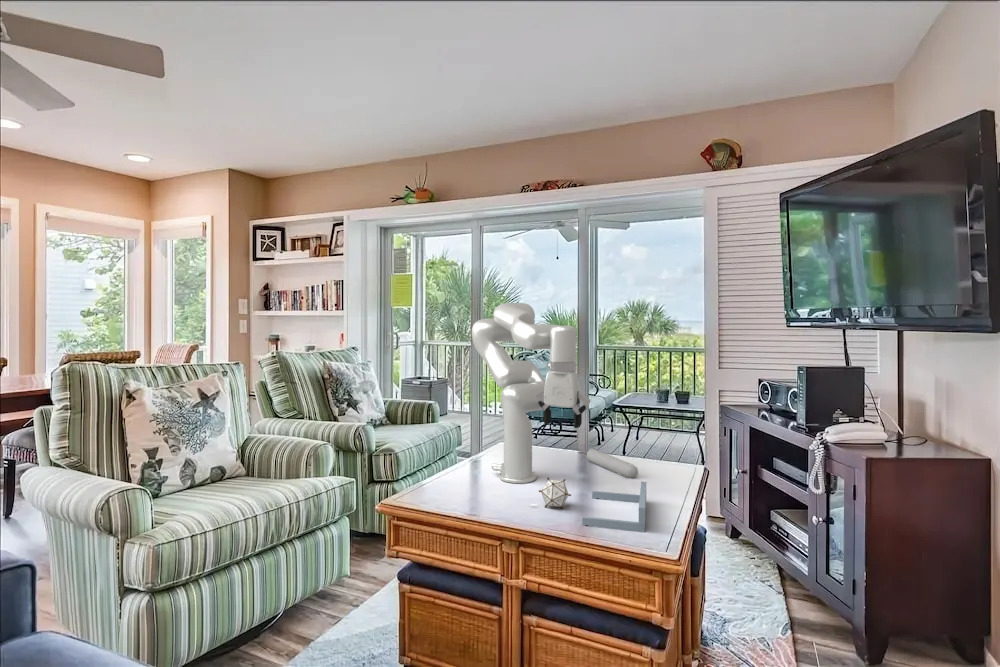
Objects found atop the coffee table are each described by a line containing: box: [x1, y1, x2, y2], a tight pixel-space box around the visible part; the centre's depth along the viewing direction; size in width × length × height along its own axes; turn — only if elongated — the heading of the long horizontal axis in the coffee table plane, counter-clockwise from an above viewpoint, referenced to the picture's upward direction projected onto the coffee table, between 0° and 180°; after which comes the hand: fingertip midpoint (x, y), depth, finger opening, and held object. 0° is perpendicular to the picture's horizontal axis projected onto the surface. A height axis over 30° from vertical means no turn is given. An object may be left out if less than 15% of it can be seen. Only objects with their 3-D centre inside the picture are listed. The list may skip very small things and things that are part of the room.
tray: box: [581, 480, 647, 533], centre depth 145 cm, size 16×23×6 cm
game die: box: [538, 476, 572, 510], centre depth 150 cm, size 9×8×10 cm
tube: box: [586, 448, 639, 479], centre depth 189 cm, size 5×5×25 cm
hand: (562, 425), depth 156 cm, fingers open, 9 cm apart
